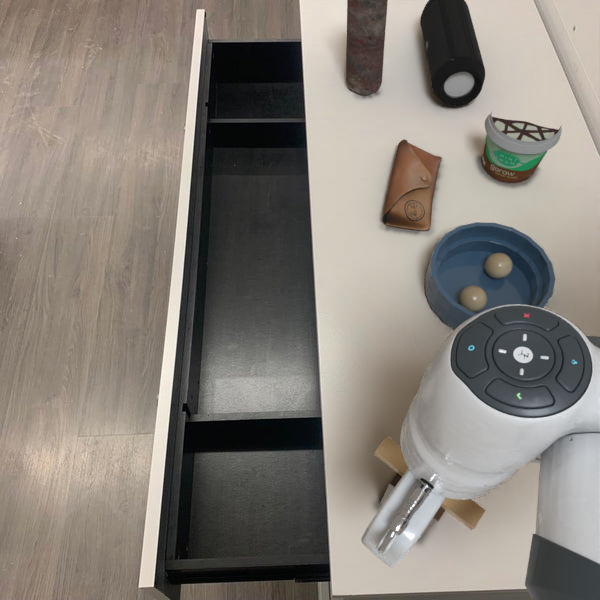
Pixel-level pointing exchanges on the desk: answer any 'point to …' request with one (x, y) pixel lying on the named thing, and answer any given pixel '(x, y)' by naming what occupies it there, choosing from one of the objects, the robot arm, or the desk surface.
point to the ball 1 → (473, 298)
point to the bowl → (471, 270)
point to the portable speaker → (452, 52)
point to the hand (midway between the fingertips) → (428, 477)
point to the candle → (365, 44)
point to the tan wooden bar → (459, 509)
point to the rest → (392, 486)
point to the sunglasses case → (411, 188)
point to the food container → (515, 148)
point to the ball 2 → (498, 265)
